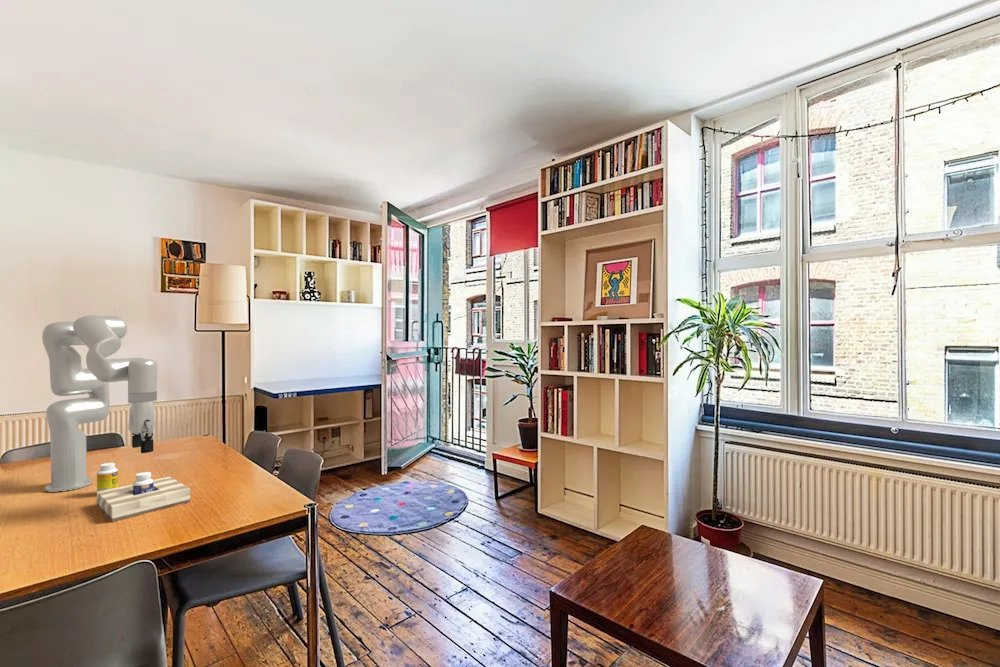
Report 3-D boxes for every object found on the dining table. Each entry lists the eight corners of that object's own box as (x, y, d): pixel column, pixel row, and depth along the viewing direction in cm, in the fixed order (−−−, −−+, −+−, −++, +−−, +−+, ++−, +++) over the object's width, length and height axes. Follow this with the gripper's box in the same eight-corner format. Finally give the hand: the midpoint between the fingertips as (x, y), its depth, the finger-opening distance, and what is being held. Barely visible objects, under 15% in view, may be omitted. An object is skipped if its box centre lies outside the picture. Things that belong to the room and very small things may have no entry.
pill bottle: (142, 504, 147) (141, 476, 147) (128, 503, 148) (128, 475, 148) (157, 498, 153) (157, 471, 153) (144, 497, 154) (144, 470, 154)
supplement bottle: (113, 495, 159) (113, 465, 158) (93, 497, 157) (93, 467, 157) (120, 489, 164) (120, 461, 164) (101, 491, 162) (101, 462, 162)
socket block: (96, 505, 149) (96, 492, 149) (170, 489, 164) (169, 476, 164) (112, 522, 136) (112, 506, 136) (190, 502, 152) (190, 488, 152)
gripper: (121, 395, 152) (121, 447, 153) (135, 401, 142) (135, 457, 142) (148, 393, 158) (148, 442, 159) (165, 399, 148) (164, 452, 148)
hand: (142, 449), depth 150 cm, fingers open, 9 cm apart
